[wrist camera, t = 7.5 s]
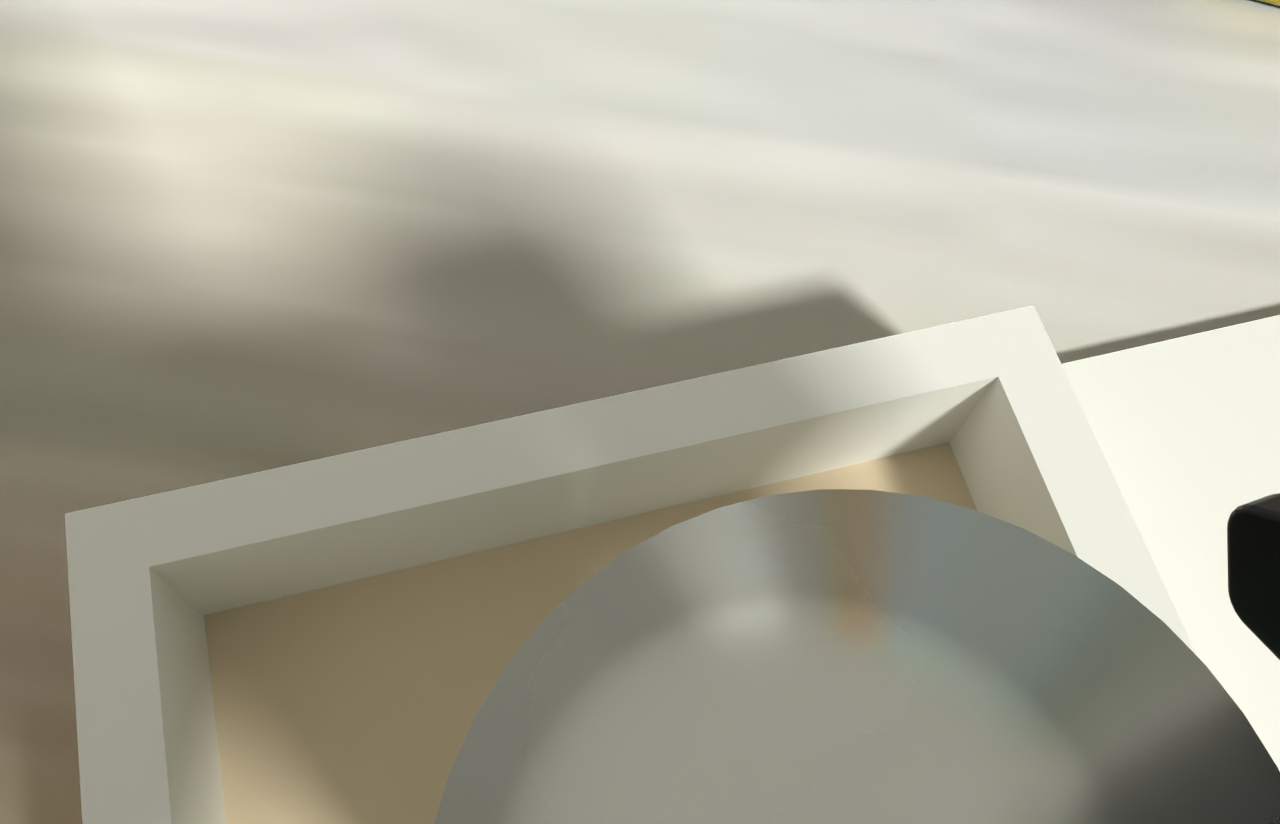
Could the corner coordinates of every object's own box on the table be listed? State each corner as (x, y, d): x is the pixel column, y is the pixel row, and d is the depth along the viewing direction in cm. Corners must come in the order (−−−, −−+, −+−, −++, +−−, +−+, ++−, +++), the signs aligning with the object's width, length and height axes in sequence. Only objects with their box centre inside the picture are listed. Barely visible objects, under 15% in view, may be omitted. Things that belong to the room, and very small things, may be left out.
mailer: (2246, 1031, 16) (2579, 1049, 14) (248, 1814, 12) (153, 2067, 9) (1655, 238, 22) (1806, 138, 19) (143, 579, 18) (64, 513, 15)
